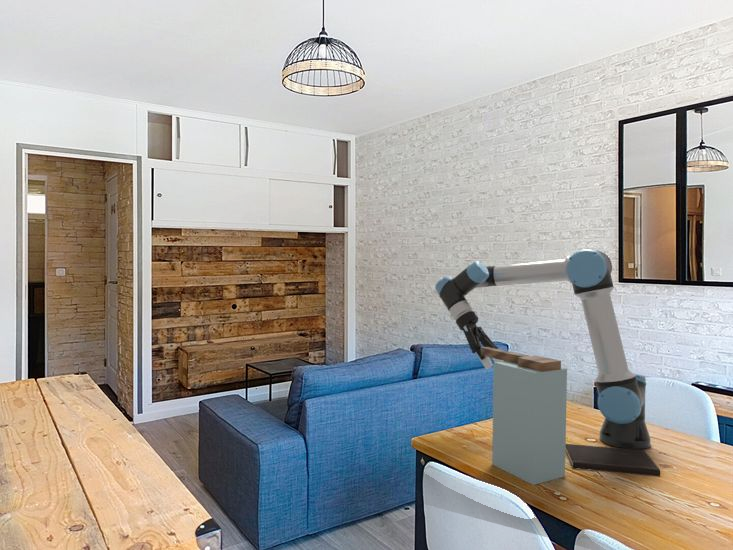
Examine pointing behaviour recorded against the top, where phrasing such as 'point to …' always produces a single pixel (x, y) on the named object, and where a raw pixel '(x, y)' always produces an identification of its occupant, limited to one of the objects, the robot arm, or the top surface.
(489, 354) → the brown tapered block
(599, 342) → the robot arm
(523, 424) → the stand
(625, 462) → the hardcover book
